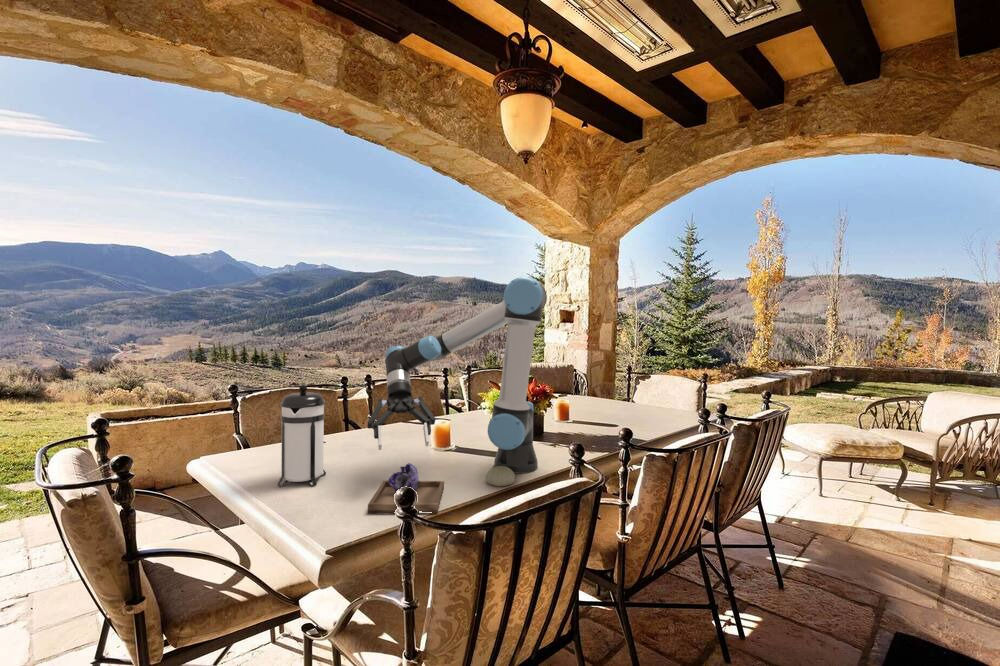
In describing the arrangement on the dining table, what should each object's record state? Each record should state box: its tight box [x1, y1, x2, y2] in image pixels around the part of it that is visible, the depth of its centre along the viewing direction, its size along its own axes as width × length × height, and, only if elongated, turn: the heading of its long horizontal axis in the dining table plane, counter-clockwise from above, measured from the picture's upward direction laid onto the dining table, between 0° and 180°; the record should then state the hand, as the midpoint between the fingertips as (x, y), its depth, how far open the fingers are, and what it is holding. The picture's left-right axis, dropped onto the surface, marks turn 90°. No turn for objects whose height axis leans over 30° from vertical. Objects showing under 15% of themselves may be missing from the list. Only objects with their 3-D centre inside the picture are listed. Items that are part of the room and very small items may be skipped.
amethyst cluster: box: [387, 462, 420, 493], centre depth 131 cm, size 9×9×10 cm
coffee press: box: [277, 384, 327, 488], centre depth 143 cm, size 17×16×30 cm
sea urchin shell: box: [484, 466, 516, 487], centre depth 143 cm, size 9×8×8 cm
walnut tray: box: [367, 480, 445, 515], centre depth 128 cm, size 18×18×2 cm
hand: (404, 445), depth 134 cm, fingers open, 13 cm apart
